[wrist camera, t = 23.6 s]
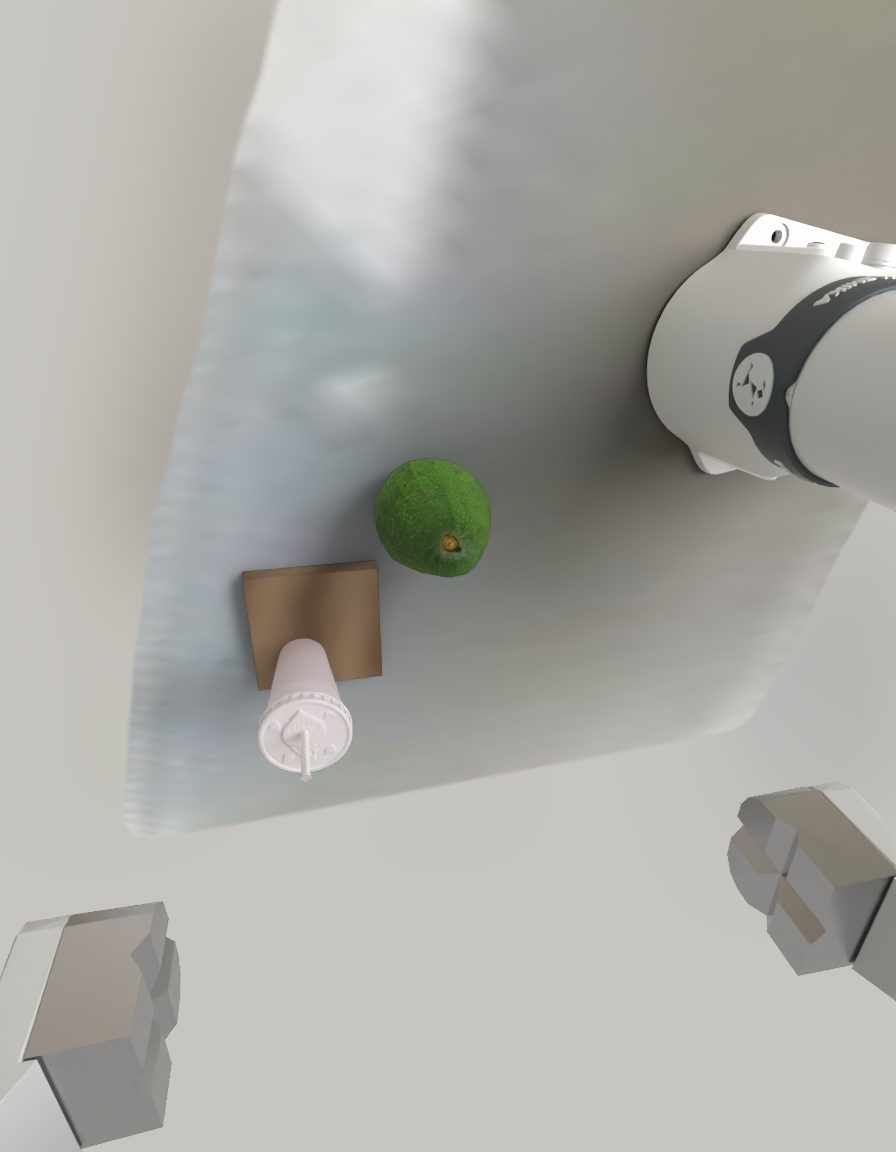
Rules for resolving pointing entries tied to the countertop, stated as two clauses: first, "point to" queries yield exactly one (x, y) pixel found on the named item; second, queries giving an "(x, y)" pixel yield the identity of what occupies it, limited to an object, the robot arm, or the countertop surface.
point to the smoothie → (304, 712)
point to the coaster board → (316, 616)
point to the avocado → (433, 517)
